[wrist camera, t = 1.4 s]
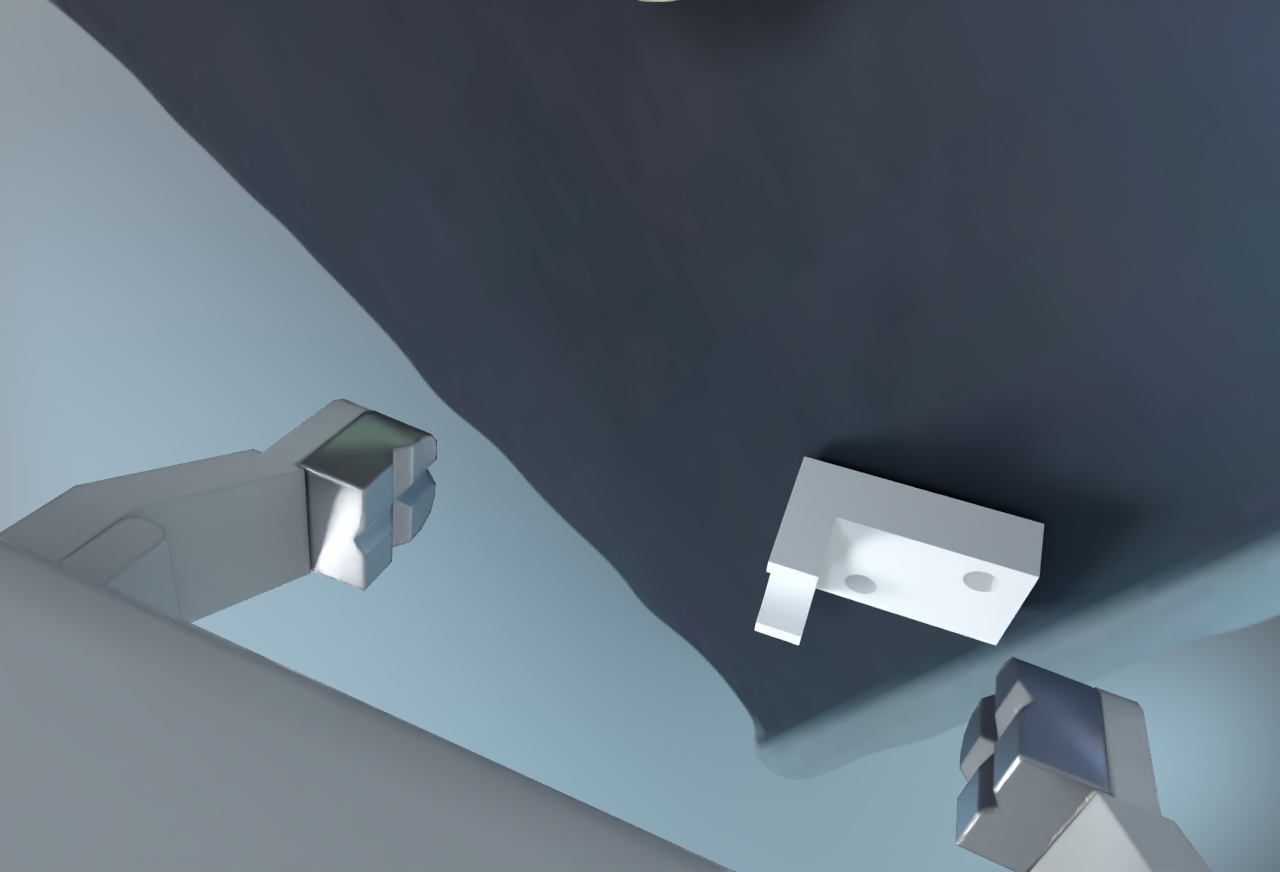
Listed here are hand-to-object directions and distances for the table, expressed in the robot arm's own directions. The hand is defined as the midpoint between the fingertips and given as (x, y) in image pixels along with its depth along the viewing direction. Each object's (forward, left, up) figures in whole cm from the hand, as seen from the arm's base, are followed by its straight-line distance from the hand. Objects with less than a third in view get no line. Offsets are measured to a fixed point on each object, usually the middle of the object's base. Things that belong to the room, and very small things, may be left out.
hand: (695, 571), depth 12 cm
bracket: (+11, +22, -34) cm, 42 cm away
